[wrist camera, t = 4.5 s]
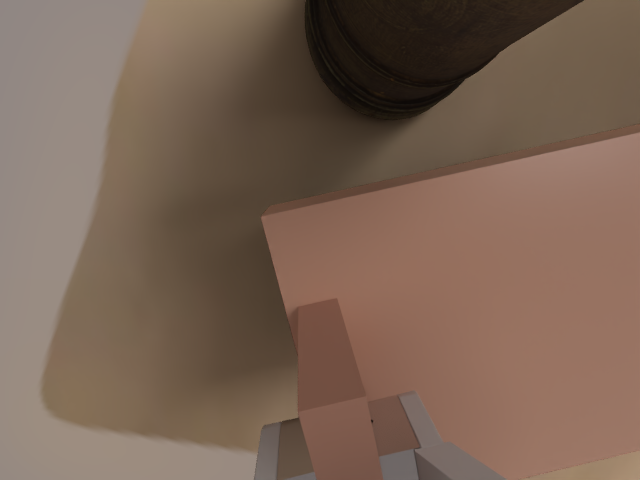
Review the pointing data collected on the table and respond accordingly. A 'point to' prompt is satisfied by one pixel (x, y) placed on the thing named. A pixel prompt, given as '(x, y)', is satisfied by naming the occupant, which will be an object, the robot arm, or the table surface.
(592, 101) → the table surface
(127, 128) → the table surface
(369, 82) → the container
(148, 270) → the table surface
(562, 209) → the lid
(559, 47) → the table surface
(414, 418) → the robot arm
